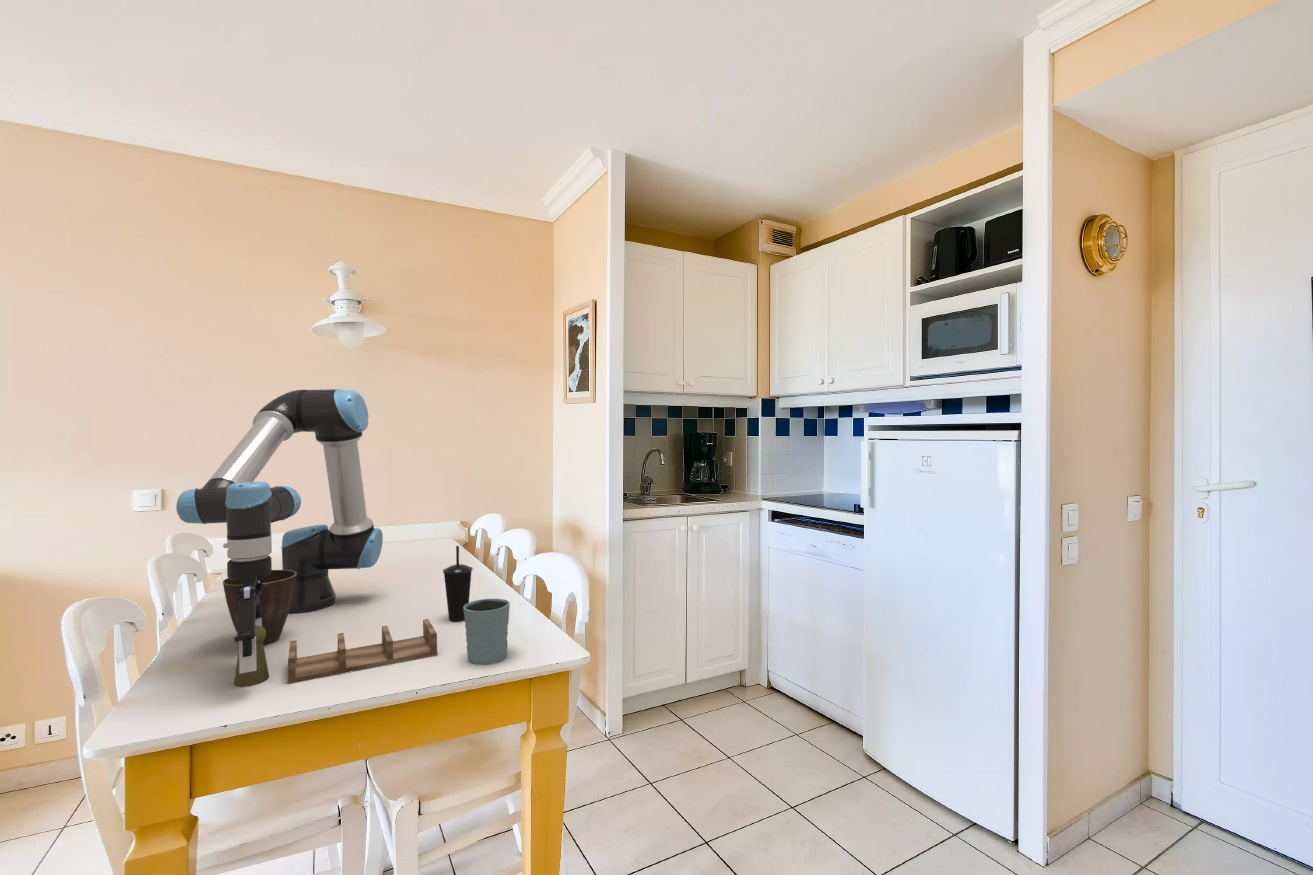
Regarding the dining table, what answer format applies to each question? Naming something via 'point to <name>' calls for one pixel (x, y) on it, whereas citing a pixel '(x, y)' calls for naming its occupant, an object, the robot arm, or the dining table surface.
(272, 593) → the plant pot
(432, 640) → the spice rack
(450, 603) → the drinking cup
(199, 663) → the dining table surface
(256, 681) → the olive peg figure
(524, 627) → the dining table surface
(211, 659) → the dining table surface
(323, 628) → the dining table surface
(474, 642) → the grey-green tumbler
